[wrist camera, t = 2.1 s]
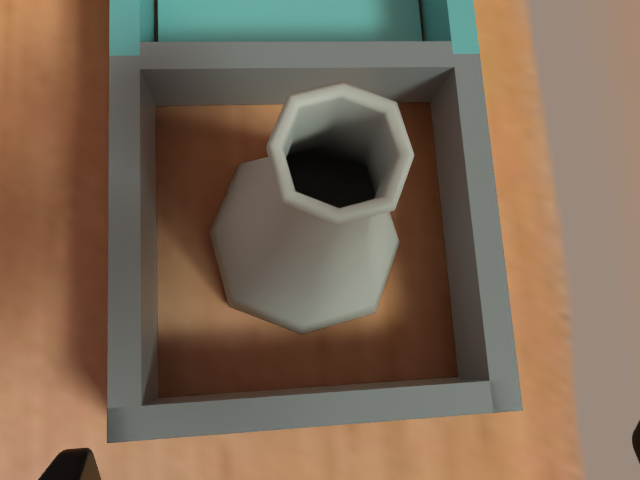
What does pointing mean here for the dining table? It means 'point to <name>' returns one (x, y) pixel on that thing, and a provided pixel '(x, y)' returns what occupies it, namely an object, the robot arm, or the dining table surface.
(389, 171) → the flask
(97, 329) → the dining table surface
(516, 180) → the dining table surface
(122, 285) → the tray
